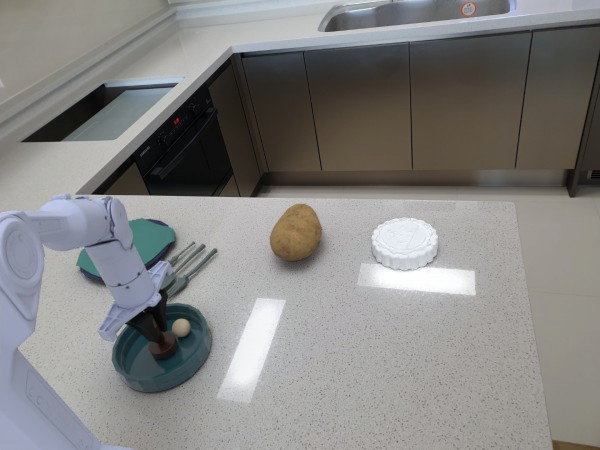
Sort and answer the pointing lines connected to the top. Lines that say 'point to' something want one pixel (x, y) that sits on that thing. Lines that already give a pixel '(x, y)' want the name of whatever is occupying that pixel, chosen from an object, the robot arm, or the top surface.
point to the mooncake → (404, 243)
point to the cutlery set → (151, 252)
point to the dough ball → (181, 327)
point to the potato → (296, 233)
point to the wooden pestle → (162, 342)
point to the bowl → (170, 371)
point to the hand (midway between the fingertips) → (157, 334)
